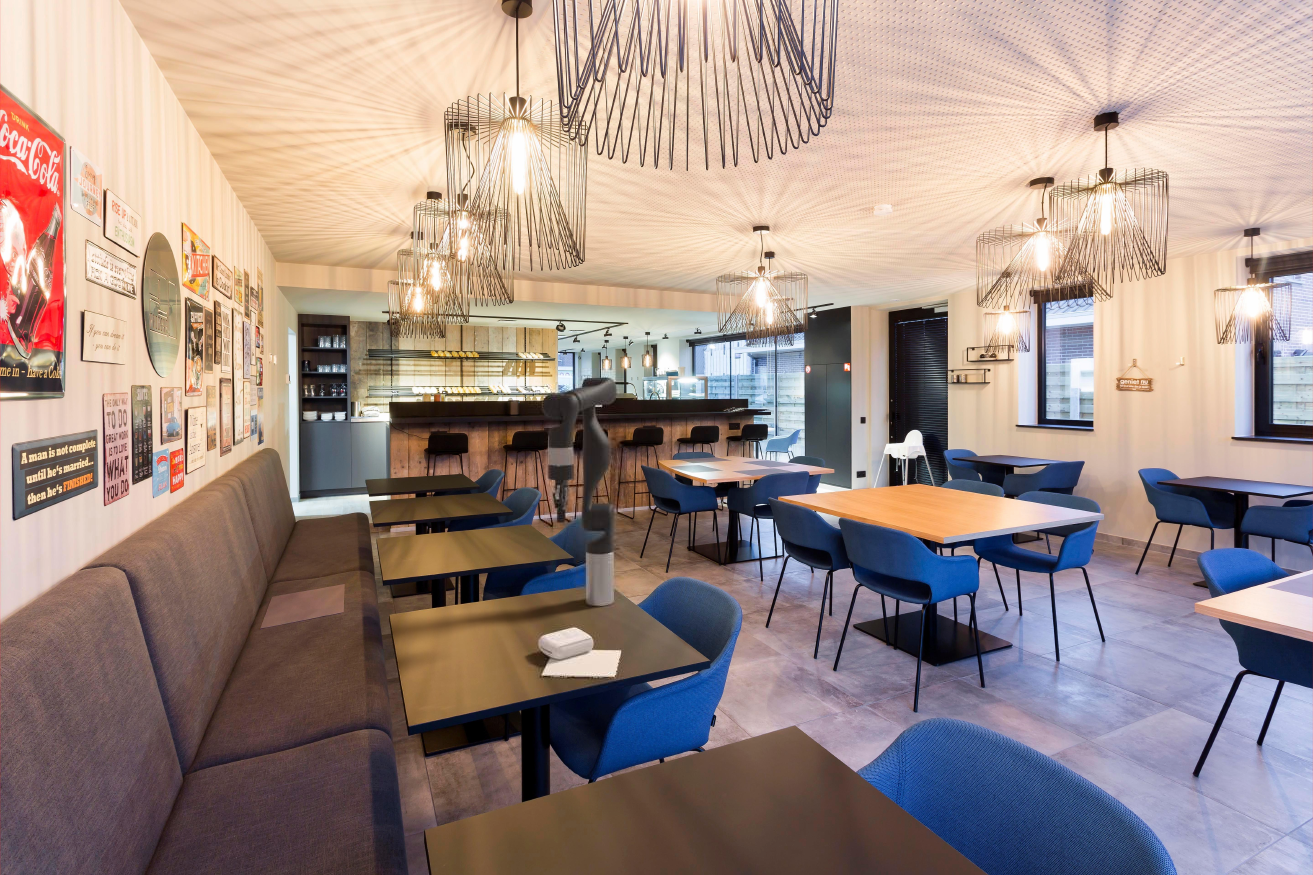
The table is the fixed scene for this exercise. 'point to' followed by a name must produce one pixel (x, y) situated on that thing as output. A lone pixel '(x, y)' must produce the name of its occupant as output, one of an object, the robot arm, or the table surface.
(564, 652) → the photo printer
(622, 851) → the table surface
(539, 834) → the table surface
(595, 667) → the mat
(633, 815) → the table surface
